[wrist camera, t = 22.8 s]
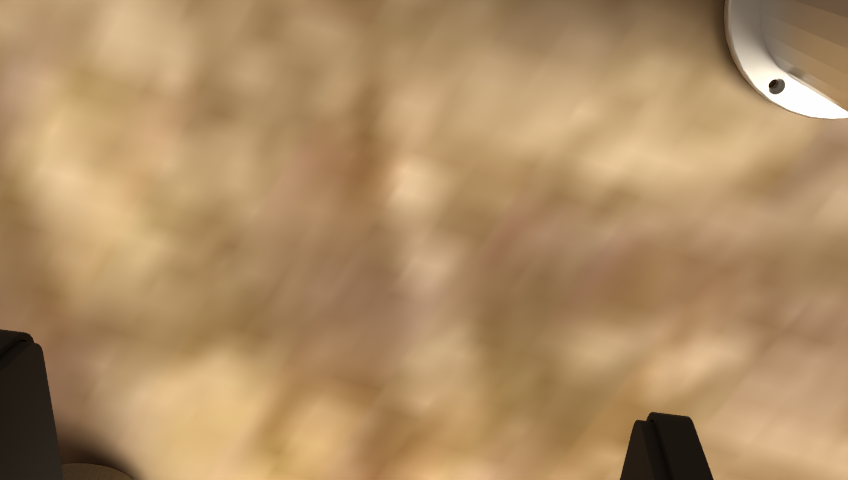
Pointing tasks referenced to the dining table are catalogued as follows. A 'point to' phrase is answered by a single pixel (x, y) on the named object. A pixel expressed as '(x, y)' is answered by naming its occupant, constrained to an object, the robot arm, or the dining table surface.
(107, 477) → the cantaloupe
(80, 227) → the dining table surface
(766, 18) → the robot arm
